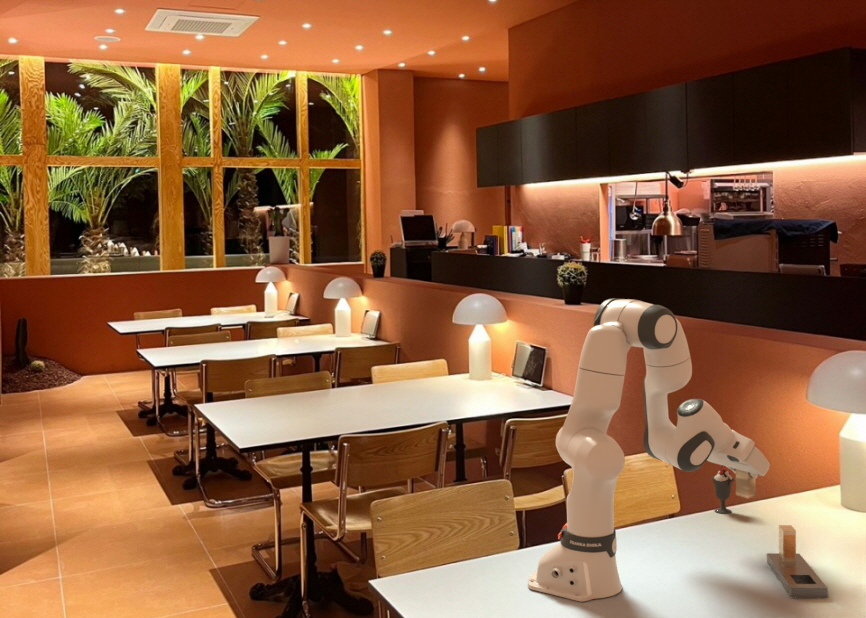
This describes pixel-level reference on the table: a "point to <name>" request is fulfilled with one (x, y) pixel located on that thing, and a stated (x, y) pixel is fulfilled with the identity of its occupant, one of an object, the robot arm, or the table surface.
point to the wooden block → (744, 484)
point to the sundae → (723, 488)
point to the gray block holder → (794, 568)
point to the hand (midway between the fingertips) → (747, 474)
